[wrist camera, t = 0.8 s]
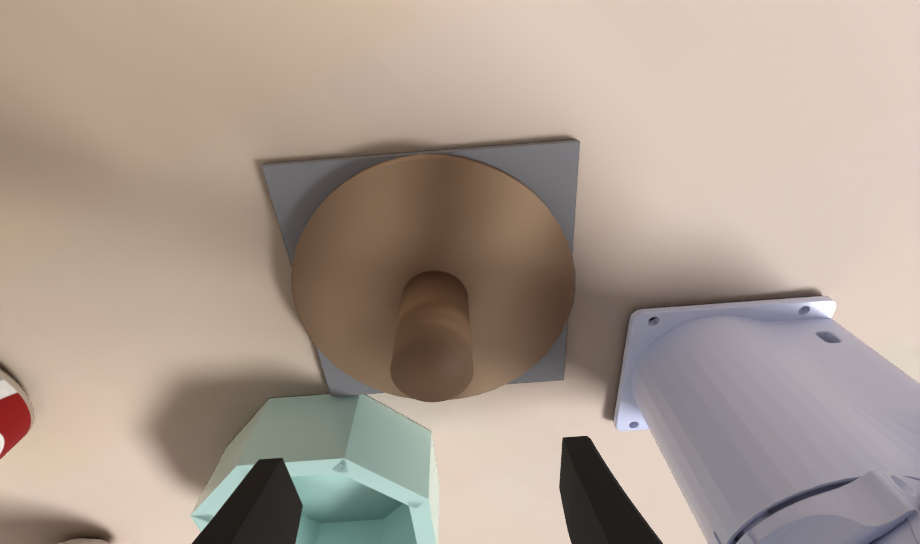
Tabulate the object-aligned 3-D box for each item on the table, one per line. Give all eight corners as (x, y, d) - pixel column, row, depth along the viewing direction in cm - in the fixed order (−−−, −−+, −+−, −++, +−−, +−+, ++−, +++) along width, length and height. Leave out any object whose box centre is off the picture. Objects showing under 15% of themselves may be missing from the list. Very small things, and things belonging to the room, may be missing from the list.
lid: (579, 141, 16) (634, 185, 11) (563, 379, 22) (594, 473, 17) (261, 166, 16) (186, 219, 11) (331, 396, 22) (300, 493, 17)
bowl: (424, 387, 22) (420, 452, 19) (443, 516, 28) (443, 585, 24) (205, 402, 22) (161, 470, 19) (269, 528, 28) (244, 598, 25)
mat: (576, 139, 16) (579, 141, 16) (561, 374, 22) (563, 380, 22) (265, 163, 16) (261, 166, 16) (332, 390, 22) (330, 396, 22)
